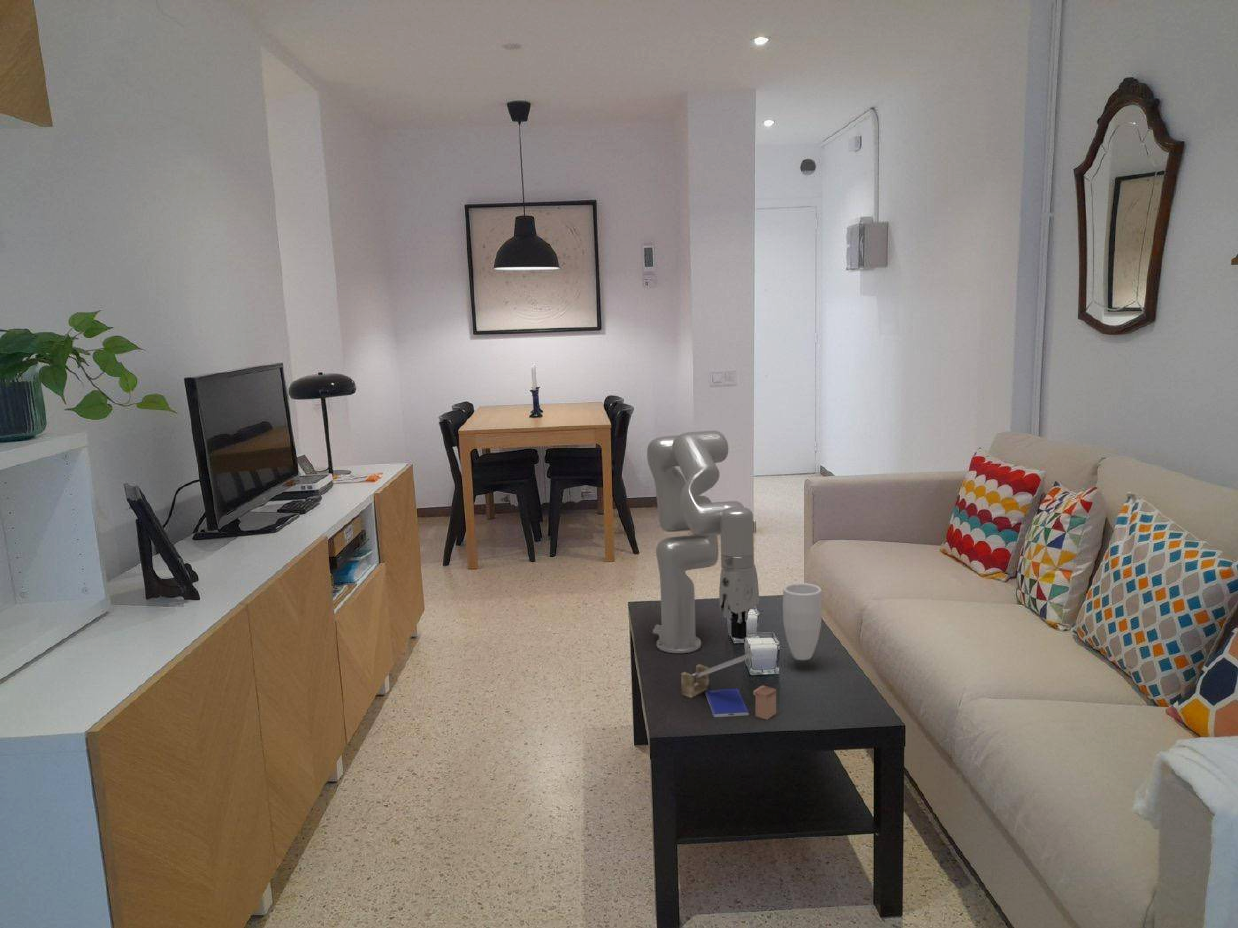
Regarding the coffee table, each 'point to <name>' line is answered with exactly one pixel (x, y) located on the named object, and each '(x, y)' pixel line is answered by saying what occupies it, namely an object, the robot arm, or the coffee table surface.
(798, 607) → the cup
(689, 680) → the pivot bracket
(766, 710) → the block
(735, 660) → the grey long flat bar
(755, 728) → the coffee table surface
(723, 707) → the hard drive
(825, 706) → the coffee table surface
